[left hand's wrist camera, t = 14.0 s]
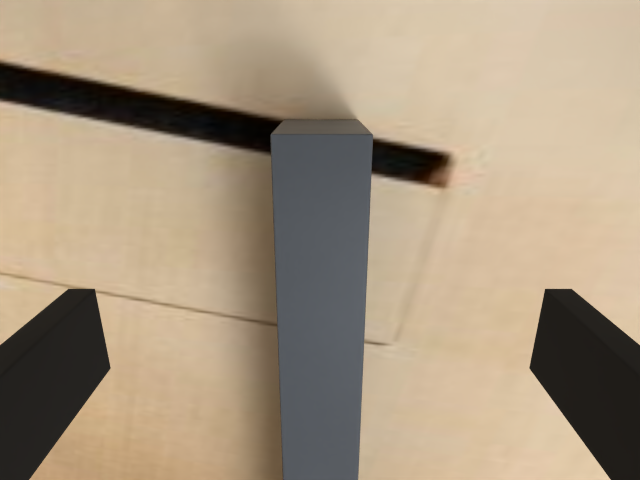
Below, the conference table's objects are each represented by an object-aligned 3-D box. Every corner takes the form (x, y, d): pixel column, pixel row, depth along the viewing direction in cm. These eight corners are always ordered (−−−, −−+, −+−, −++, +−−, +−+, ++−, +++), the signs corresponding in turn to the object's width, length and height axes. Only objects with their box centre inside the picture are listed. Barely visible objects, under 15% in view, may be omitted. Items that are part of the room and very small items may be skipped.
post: (284, 119, 29) (270, 133, 21) (358, 119, 29) (373, 134, 21) (296, 605, 46) (291, 714, 38) (343, 605, 46) (347, 714, 38)
